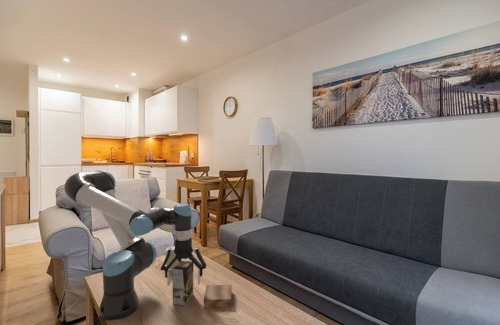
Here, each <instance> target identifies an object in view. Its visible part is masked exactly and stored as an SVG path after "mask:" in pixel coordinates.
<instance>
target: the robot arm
mask: <svg viewBox="0 0 500 325" xmlns="http://www.w3.org/2000/svg"><path fill="white" fill-rule="evenodd" d="M116 183H117V182H116V179H115V176H113V175H112V173H110V172H108V171H107V170H95V171H94V170H93V171H87V172H86V171H84V172H77V173H74V174H72V175H70V176H69V177H68V178H67V179H66V181H65V183H64V186H63V187H64V192H65V195H66V196H67V197H68V198H69V199H70V200H72V201H73V202H74V203H77V204H79V205H83V204H84V205H86V206H89V207H91V208H93V209H95V210H97V211H99V212H100V213H101V215H102V216H103V218H104V220H105V221H106V223H107V225H108V227H109V228H110V230H111V232H112V233H113V235H114V237H115V239H116V240H117V242H118V245H119V246H120V248H119V249H120V250H118V251H115V252H112V253H111V254H109V255H107V256H106V257H105V258H104V259H103V263H102V280H103V282H102V283H103V296H102V298H101V303H100V304H99V307H98V308H99V309H98V310H99V311H98V314H99V317H100V318H101V319H103V320H106V321H112V320H114V321H116V320H120V319H124V318H126V317H129V316H130V315H132V314H133V313H135V312H136V310H138V308H139V305H140V304H139V297H138V294H137V292H136V290H135V278H136V276H138V275H139V274H141V273H143V272H144V271H145V270H147V269H149V267H151V265H153V263H155V261H156V258H157V249H156V247H155V246H154V244H153V243H152V242H150V241H146V240H145V238H144V237H142V236H143V235H144V236H145V235H147V234H150V232H152V231H154V230H156V229H158V228H160V227H162V226H164V225H166V226H168V225H169V226H172V225H173V227H174V246H175V249H171V248H169V249H168V252H167V256H166V255H165V259H164V261H163V262H162V265H161V267H160V270H161V271H164V278H165V279H167V281H166V282H167V284H166V285H167V287H169V286H170V285H171V281H172V280H171V272H170V269H169V268H170V267H171V266H172V264H173V263H174V262H175V261H176V260H177V259H178V258H179V259H181V260H182V259H183V260H187V259H188V261H191V262H193V265H194V266H195V267H196V268H197V285H200V284H201V277H203V273H204V272H203V270H204V269H205V270H206V268H207V263H206V262H205V260H204V258H203V255H202V253H201V252H200V248H199V246H197V247H196V248H193V242H192V239H193V238H192V236H193V233H192V214H193V213H192V208H191V207H192V206H191V204H189V203H175V204H174V206H173V207H161V206H158V207H156V206H155V207H154V206H153V207H152V208H150V210H149V211H148V212H145V211H143V210H141V209H139V208H136V207H135V206H132V205H131V204H128V203H127V202H124V201H122V200H120V199H118V198H117V197H116V196H115V194H116ZM173 252H174V253H175V255H176V256H175V257H174V258H173V259H172V261H171V262H170V263H169V264H168V265H167V267H166V263H167V261H168V259H169V257H170V255H171V254H172V253H173ZM193 253H194V254H196V257H197V258H195V256H194V254H193ZM198 260H199V261H198Z"/></svg>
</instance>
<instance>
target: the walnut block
mask: <svg viewBox="0 0 500 325" xmlns="http://www.w3.org/2000/svg"><path fill="white" fill-rule="evenodd" d="M232 291H233V290H232V284H212V285H211V284H207V285H206V286H205V292H204V297H203V309H206V308H207V309H210V308H211V309H212V308H215V309H216V308H232V294H233V293H232Z"/></svg>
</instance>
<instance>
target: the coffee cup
mask: <svg viewBox="0 0 500 325" xmlns="http://www.w3.org/2000/svg"><path fill="white" fill-rule="evenodd" d="M169 248H171V249H175V245H171V246H168V247H166V249H165V250H164V252H165V254H164V255H165V257H166V256H167V252H168V249H169ZM175 256H176V255H175V253H174V252H173V253H172V254H171V255H170V257H169V259H168V261H167V263H166V265H165V267H167V265H168V264H169V263H170V262H171V261H172V259H173V258H174V257H175ZM181 261H182V259H179V258H178V259H177V260H176V261H175V262H174V263H173V264H172V266H171V267H170V268H169V269H170V273H173V268H174V267H175V266H176V265H177V264H179V263H180V262H181Z"/></svg>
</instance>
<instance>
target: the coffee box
mask: <svg viewBox="0 0 500 325" xmlns="http://www.w3.org/2000/svg"><path fill="white" fill-rule="evenodd" d="M193 296H194V263H193V262H192V261H191V260H188V261H187V260H181V262H180V263H179V264H177V265H176V266H175V267H174V268H173V272H172V304H173V305H180V306H186V305H187V304H188V302H189V301H190V300H191V298H192V297H193Z"/></svg>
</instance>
